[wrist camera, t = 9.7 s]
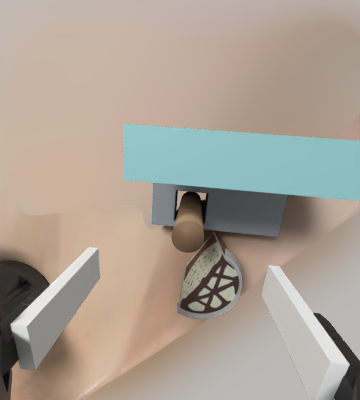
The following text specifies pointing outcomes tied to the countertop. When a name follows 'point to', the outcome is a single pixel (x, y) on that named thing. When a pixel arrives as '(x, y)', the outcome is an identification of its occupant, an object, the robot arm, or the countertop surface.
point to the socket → (238, 173)
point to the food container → (210, 281)
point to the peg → (189, 224)
